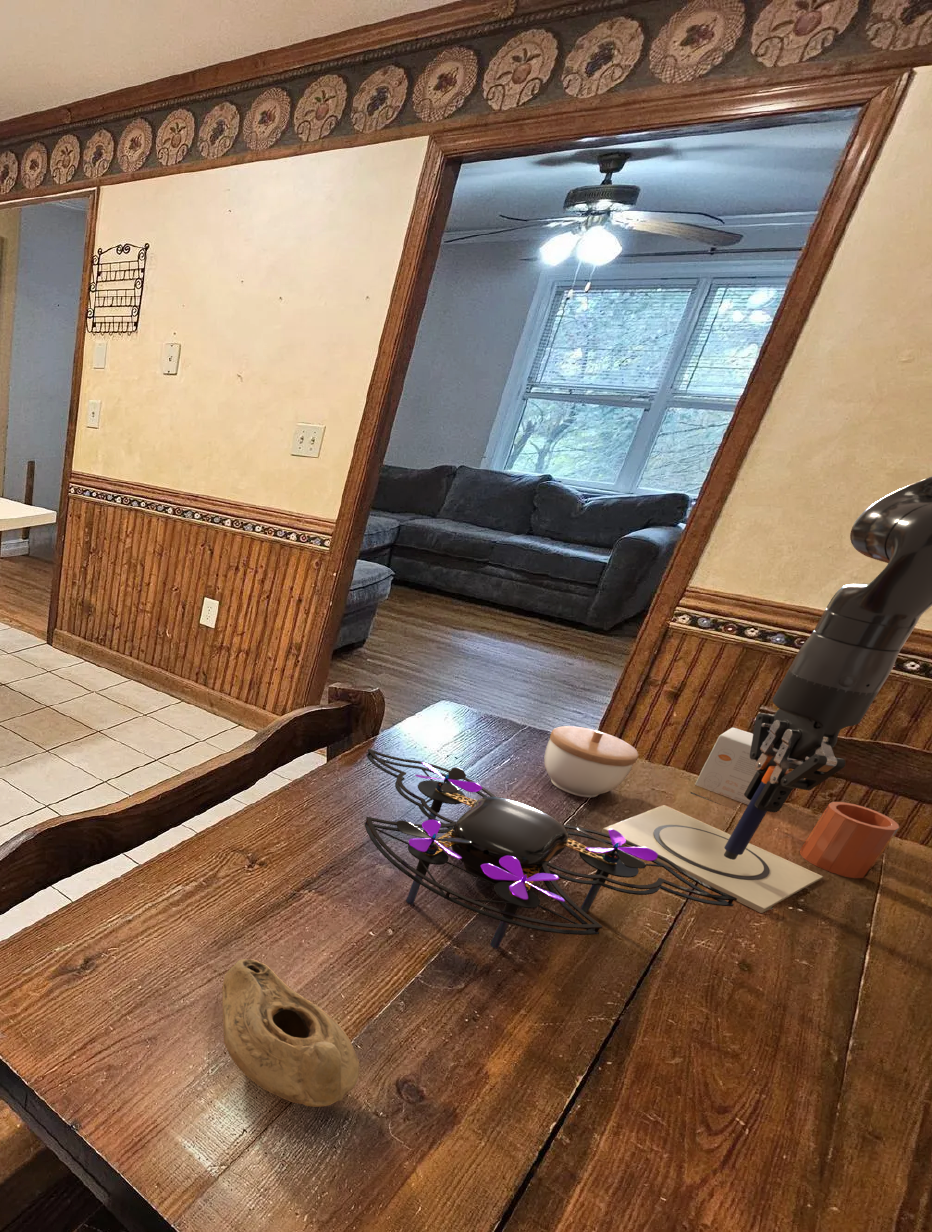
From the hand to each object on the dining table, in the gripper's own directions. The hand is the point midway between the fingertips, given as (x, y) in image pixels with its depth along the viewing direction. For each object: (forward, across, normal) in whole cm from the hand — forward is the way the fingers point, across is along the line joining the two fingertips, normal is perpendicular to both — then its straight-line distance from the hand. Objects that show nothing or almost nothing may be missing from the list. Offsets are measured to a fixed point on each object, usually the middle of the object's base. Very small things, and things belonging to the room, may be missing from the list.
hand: (759, 804), depth 97 cm
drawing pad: (+10, +3, 0) cm, 11 cm away
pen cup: (+10, +7, -15) cm, 20 cm away
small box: (+10, +22, -10) cm, 26 cm away
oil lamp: (+11, -53, +56) cm, 78 cm away
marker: (+8, 0, 0) cm, 8 cm away
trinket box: (+10, +17, +12) cm, 23 cm away
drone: (+11, -19, +33) cm, 40 cm away
